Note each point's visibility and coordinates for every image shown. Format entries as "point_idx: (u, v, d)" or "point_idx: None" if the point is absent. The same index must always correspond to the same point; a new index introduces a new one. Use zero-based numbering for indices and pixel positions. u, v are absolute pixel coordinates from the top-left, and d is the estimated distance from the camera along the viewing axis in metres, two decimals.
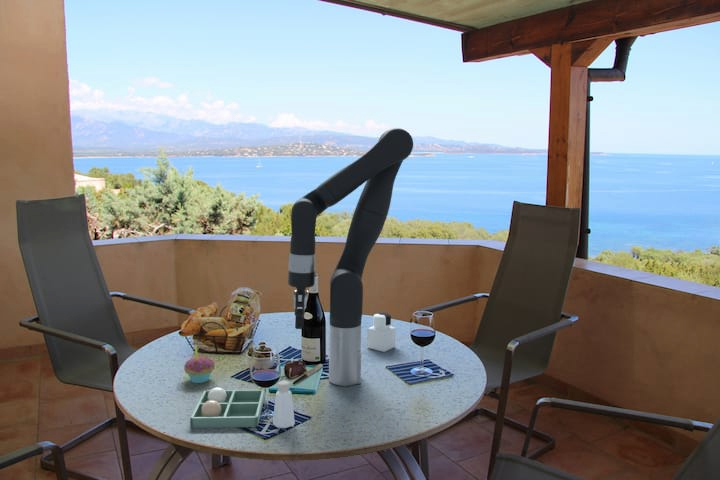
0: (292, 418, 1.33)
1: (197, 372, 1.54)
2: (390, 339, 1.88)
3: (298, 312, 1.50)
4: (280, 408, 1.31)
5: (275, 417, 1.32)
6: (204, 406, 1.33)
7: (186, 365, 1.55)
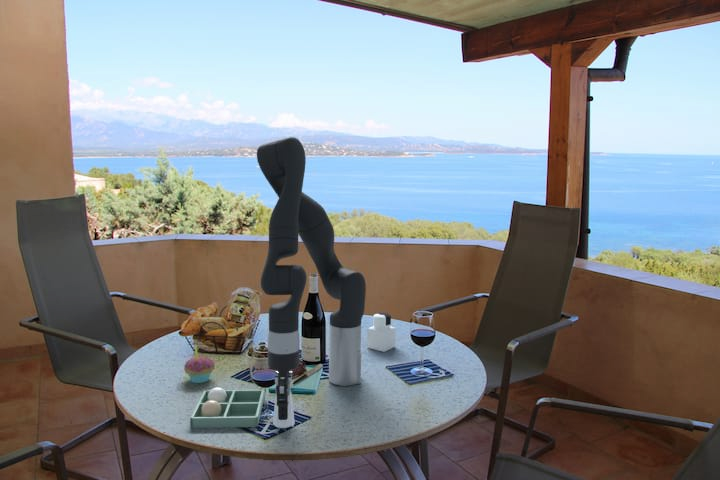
0: (292, 418, 1.33)
1: (197, 372, 1.54)
2: (390, 339, 1.88)
3: (281, 403, 1.27)
4: None
5: (275, 417, 1.32)
6: (204, 406, 1.33)
7: (186, 365, 1.55)
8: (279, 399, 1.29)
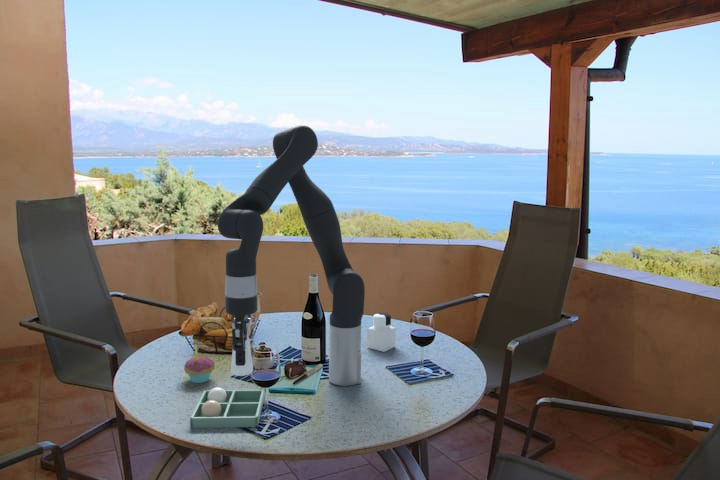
0: (250, 364, 1.32)
1: (197, 372, 1.54)
2: (390, 339, 1.88)
3: (237, 347, 1.27)
4: None
5: (233, 363, 1.32)
6: (204, 406, 1.33)
7: (186, 365, 1.55)
8: (236, 344, 1.29)
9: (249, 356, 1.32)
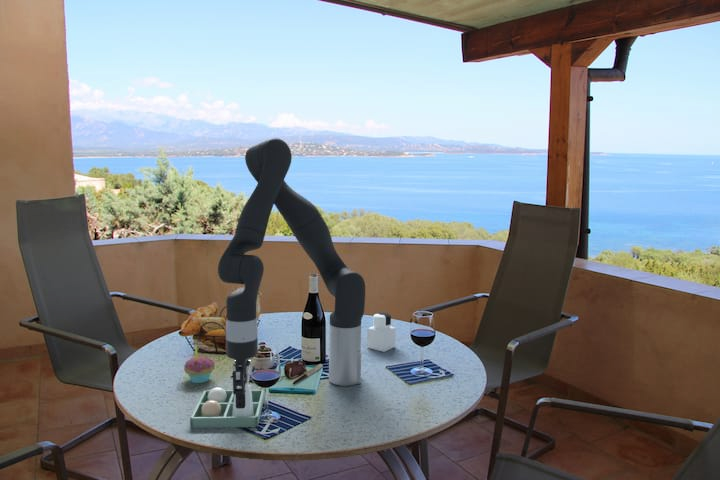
0: (251, 411, 1.34)
1: (197, 372, 1.54)
2: (390, 339, 1.88)
3: (237, 391, 1.27)
4: None
5: (234, 410, 1.33)
6: (204, 406, 1.33)
7: (186, 365, 1.55)
8: (236, 387, 1.29)
9: (250, 403, 1.34)
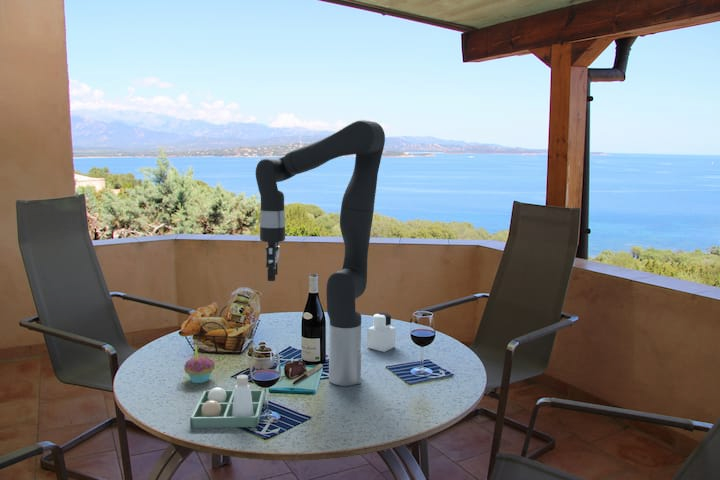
0: (251, 411, 1.34)
1: (197, 372, 1.54)
2: (390, 339, 1.88)
3: (269, 264, 1.60)
4: (239, 402, 1.32)
5: (234, 411, 1.33)
6: (204, 406, 1.33)
7: (186, 365, 1.55)
8: (268, 263, 1.62)
9: (250, 403, 1.34)
